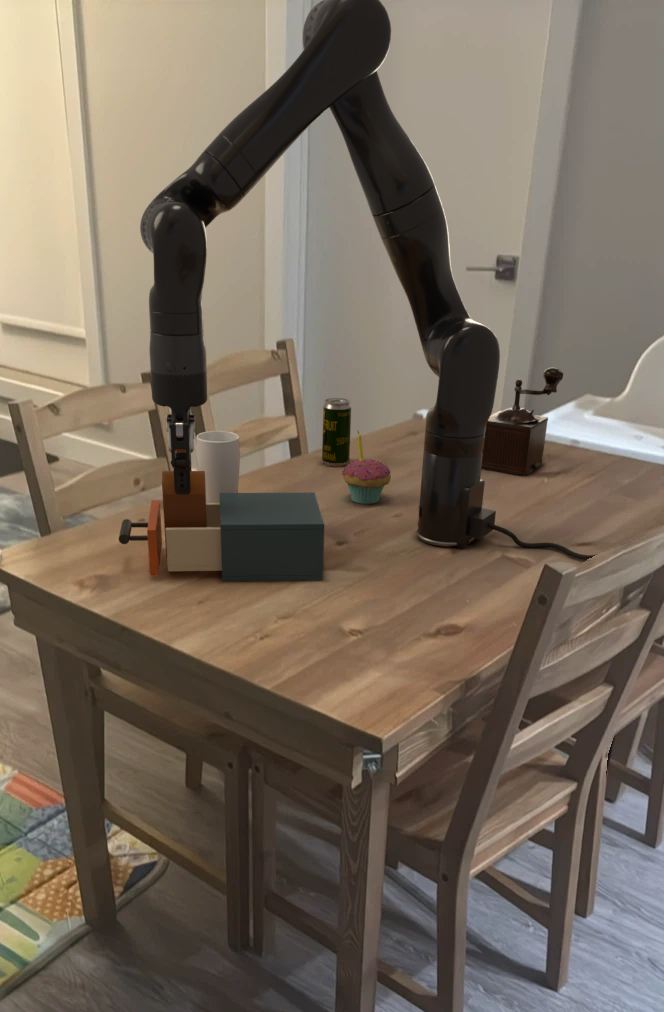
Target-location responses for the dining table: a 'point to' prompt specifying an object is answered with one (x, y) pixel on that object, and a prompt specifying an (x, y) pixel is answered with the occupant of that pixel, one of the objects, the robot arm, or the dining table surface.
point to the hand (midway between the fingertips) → (183, 484)
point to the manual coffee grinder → (518, 433)
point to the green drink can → (336, 432)
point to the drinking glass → (218, 462)
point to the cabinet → (271, 537)
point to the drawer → (180, 542)
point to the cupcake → (366, 478)
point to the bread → (184, 502)
